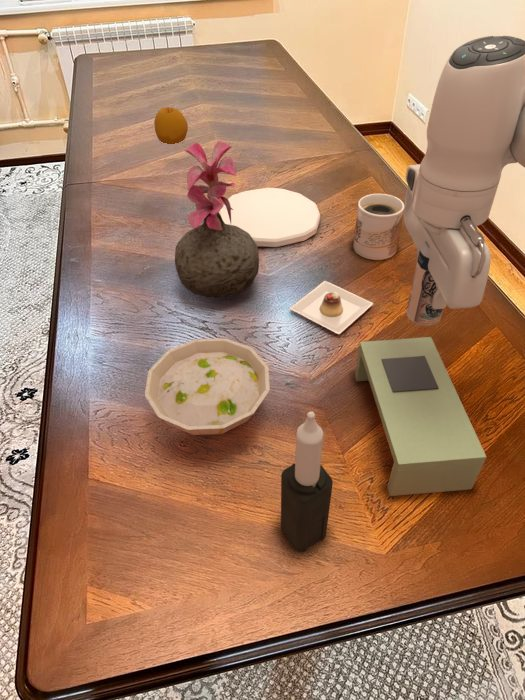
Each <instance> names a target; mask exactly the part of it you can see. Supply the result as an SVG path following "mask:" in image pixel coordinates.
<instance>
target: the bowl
mask: <svg viewBox="0 0 525 700" xmlns="http://www.w3.org/2000/svg"><path fill="white" fill-rule="evenodd" d="M270 391H271V386H270V370H269V364H267V363H266V362H265V360H264V359H262V358H261V356H260V355H259V354H258V352H256V350H254V348H253V347H251V346H248V345H246V344H243V343H240V342H237V341H235V340H231V339H228V338H225V337H224V338H220V337H219V338H197V339H196V338H195V339H193V340H191V341H187V342H185V343H183V344H180V345H178V346H176V347H173V348H170V349H168V350H166V352H165V353H164V354H163V355H162V356H161V357H160V358H159V359H158V360H157V361H156V362H155V363H154V364H153V365H152V366H151V368H149V370H148V371H147V377H146V384H145V390H144V397H145V398H146V400H147V401H148V403H149V404H150V407H151V408H152V409H153V411H154V413H155V414H156V416H157V418H159V419H160V420H162V421H164V422H165V423H166V424H167V425H170V426H172V427H174V428H177V429H179V430H181V431H183V432H186V433H188V434H189V435H192V436H197V435H198V436H200V435H207V436H208V435H222V434H224V433H227V432H228V431H230V430H232V429H234V428H237V427H238V426H240V425H242V424H244V423H247V422H248V421H249V420H250V419H251V417H253V415H254V414H255V412H256V411H257V410H258V408H259V407H260V405H261V403H262V402H263V401H264V399H265V398H266V396H267V395H268V393H269V392H270Z"/></svg>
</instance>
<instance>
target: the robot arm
mask: <svg viewBox="0 0 525 700" xmlns="http://www.w3.org/2000/svg"><path fill="white" fill-rule="evenodd" d="M426 141H427V145H426V146H427V147H426V152H425V154H424V156H423V158H422V160H421V162H420V163H418V164H417V163H416V164H410V165H408V166H407V168H406V172H405V181H406V184H407V187H406V190H405V197H404V212H403V222H404V226H405V228H406V230H407V232H408V235H409V236H410V237H411V238H410V239H412V242H413V243H414V246H415V247H416V261H417V260H418V256H419V251H420V247H421V245H422V244H424V243H425V241H426V244H427V246H428V247H429V248H430V259H429V263H428V270H429V272H430V274H431V276H432V277H433V279H434V281H435V283H436V288H437V291H436V292H431V298H430V303H431V305H432V307H433V309H443V308H444V309H445V308H447V307H448V308H449V309H453V310H458V309H459V310H460V309H472V308H476V307H477V306H479V305H480V304H481V303H482V301H483V298H484V294H485V291H486V287H487V282H488V279H489V274H490V269H491V268H490V267H491V260H492V259H491V257H492V255H491V251H490V248H489V246H488V244H487V243H486V240H485V237H484V235H483V233H481V231H480V230H479V229H478V228H477V227H478V226H480V225H483V224H484V223H485V222H486V221H487V220H488V219H489V217H490V213H491V211H492V208H493V204H494V200H495V197H496V195H497V191H498V188H499V184H500V181H501V177H502V172H503V169H504V167H506V166H507V165H511V164H519V165H521V166H522V167H523V168H525V40H524V39H522V38H520V37H515V36H510V35H488V36H483V37H479V38H474V39H471V40H469V41H467V42H465V43H463V44H461V45H460V46H458V47H457V48H456V49H454V51H453V52H451V54H450V55H449V56H448V59H447V60H446V63H445V64H444V66H443V69H442V71H441V74H440V76H439V79H438V81H437V85H436V89H435V93H434V95H433V100H432V104H431V109H430V113H429V117H428V122H427V128H426ZM444 309H443V310H444Z"/></svg>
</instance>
